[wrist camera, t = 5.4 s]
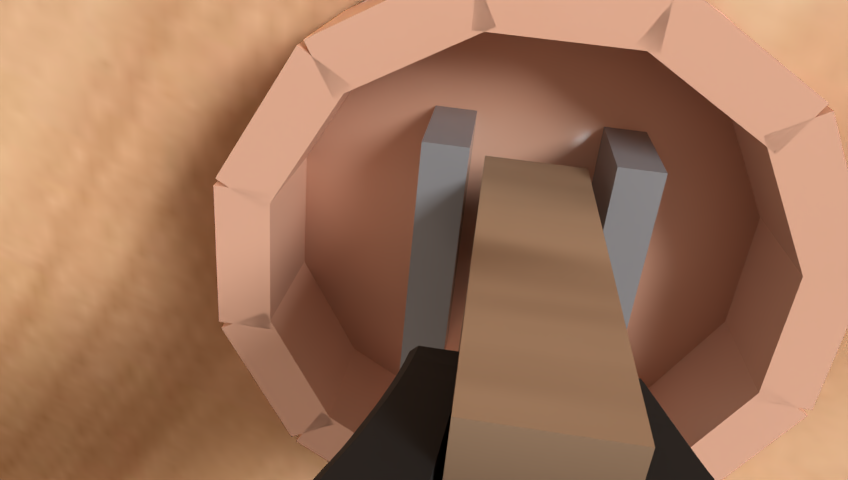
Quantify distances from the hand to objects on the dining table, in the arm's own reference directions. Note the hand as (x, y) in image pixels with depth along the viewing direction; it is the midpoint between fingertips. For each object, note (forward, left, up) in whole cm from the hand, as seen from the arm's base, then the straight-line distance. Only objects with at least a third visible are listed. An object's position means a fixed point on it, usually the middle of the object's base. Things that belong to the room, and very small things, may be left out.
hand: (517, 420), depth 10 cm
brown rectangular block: (0, 0, -4) cm, 4 cm away
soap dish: (0, 0, -6) cm, 6 cm away
